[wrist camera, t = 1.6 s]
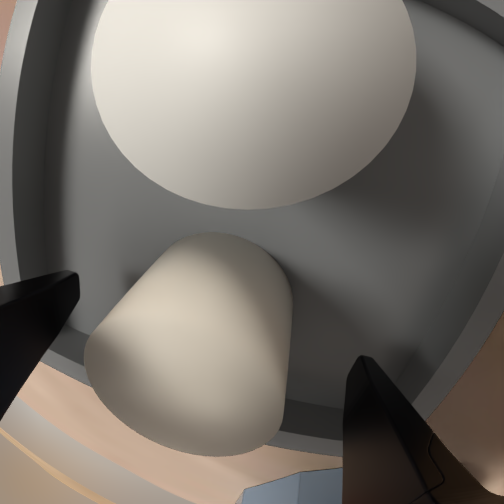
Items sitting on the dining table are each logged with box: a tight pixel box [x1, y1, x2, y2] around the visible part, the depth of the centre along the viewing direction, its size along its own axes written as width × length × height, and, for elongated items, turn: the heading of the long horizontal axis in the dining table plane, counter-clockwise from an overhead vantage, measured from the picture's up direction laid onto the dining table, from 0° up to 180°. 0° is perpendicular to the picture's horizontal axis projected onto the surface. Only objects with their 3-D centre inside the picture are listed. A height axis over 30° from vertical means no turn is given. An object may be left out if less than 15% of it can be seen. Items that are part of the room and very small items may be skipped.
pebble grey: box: [91, 0, 416, 210], centre depth 6 cm, size 5×5×4 cm
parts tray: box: [0, 0, 504, 457], centre depth 9 cm, size 17×17×2 cm
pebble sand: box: [84, 232, 293, 457], centre depth 9 cm, size 5×5×4 cm
